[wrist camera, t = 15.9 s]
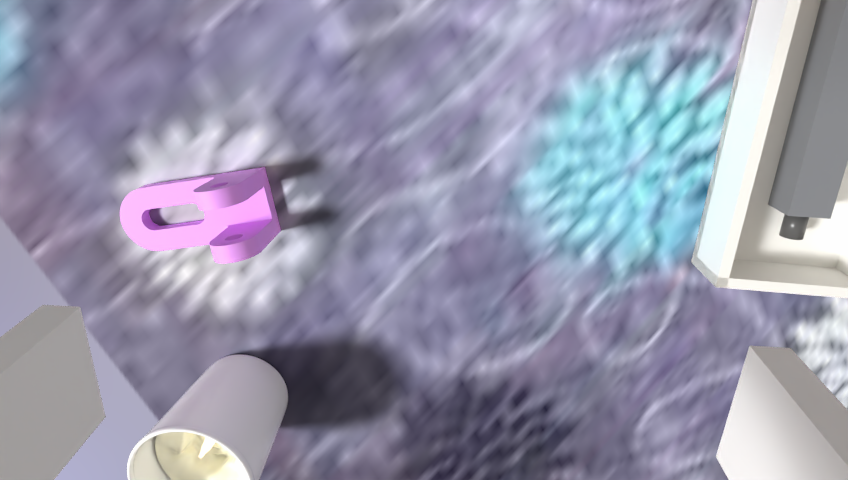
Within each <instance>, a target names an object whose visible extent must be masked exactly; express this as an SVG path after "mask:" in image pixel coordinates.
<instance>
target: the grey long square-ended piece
mask: <svg viewBox="0 0 848 480" xmlns="http://www.w3.org/2000/svg"><path fill="white" fill-rule="evenodd" d="M847 163H848V0H821V3H820V6H819V10H818V14H817V18H816V22H815V25H814V29H813V33H812V37H811V41H810V45H809V48H808V52H807V56H806V60H805V64H804V68H803V71H802V75H801V79H800V83H799V87H798V91H797V94H796V98H795V102H794V106H793V110H792V114H791V117H790V121H789V125H788V129H787V133H786V136H785V140H784V144H783V148H782V152H781V156H780V159H779V163H778V167H777V171H776V175H775V179H774V182H773V186H772V190H771V194H770V198H769V202H768V205H770V206H771V207H773V208H775V209H777V210H778V211H780V212H782V213H784V218H783V221H782V225H781V229H780V232H779V235H780V236H782V237H784V238H787V239H792V240H803V238H804V235H805V231H806V228H807V224H808V221H809V217H812V218H827V219H831V216H832V212H833V209H834V206H835V202H836V199H837V196H838V192H839V189H840V186H841V182H842V179H843V176H844V173H845V169H846V166H847Z"/></svg>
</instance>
